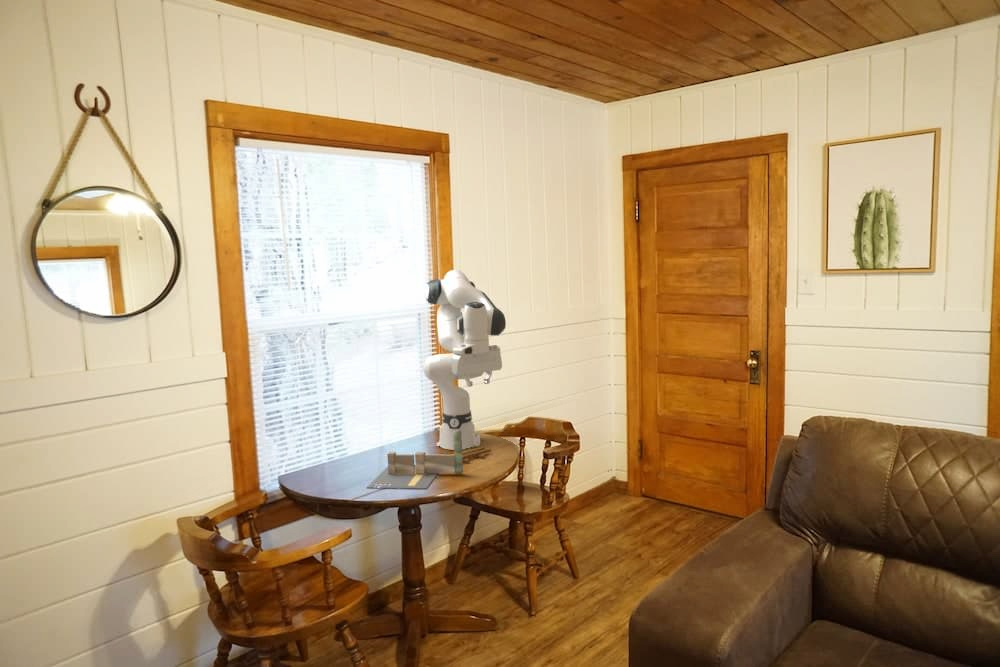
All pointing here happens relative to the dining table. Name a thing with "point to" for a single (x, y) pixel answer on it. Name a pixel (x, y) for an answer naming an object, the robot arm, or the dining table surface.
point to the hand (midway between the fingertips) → (478, 385)
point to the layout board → (403, 480)
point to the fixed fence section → (400, 463)
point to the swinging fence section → (442, 459)
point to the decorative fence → (474, 453)
